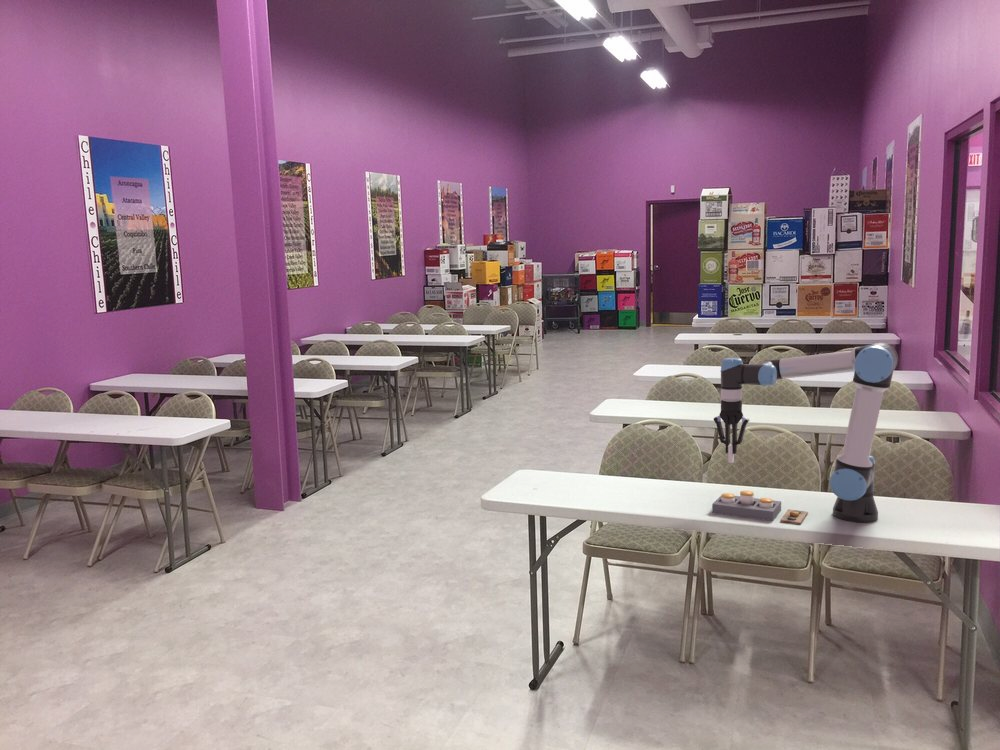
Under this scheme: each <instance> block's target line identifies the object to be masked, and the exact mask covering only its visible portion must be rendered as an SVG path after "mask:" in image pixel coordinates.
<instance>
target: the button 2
mask: <svg viewBox="0 0 1000 750" xmlns="http://www.w3.org/2000/svg"><path fill="white" fill-rule="evenodd" d="M758 499H759V507H766V508H773V500H774V499H772V498H769V497H760V498H758Z"/></svg>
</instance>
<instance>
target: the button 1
mask: <svg viewBox="0 0 1000 750" xmlns="http://www.w3.org/2000/svg"><path fill="white" fill-rule="evenodd" d="M720 496H721V502H727V503H735V496H736V495H735V494H733V493H728V492H725V493H722V494H721V495H720Z"/></svg>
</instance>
